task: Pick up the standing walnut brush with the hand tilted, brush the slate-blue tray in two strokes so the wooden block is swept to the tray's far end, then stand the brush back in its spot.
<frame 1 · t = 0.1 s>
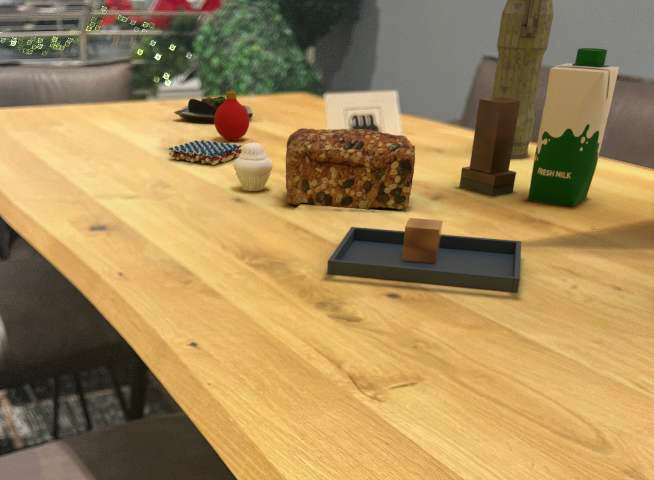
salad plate: (215, 119, 177), on the table
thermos: (503, 155, 147), on the table
muffin: (253, 190, 122), on the table
milk carton: (556, 200, 119), on the table
christmas ornament: (232, 141, 156), on the table
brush: (485, 189, 123), on the table
woven mat: (207, 159, 141), on the table
tray: (426, 268, 91), on the table
bread: (347, 202, 117), on the table
wooden block: (420, 257, 93), point 1 cm above the table, touching tray
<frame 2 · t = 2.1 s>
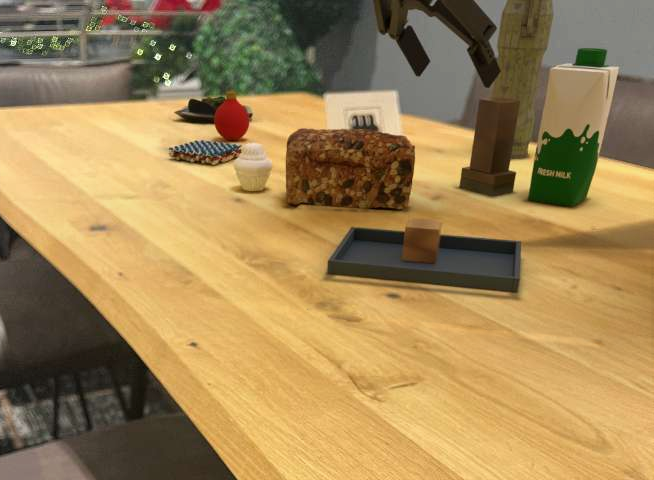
hand: (456, 74, 109), 17 cm above the table, tool tilted 45°, fingers open, 13 cm apart
nothing on the table moved.
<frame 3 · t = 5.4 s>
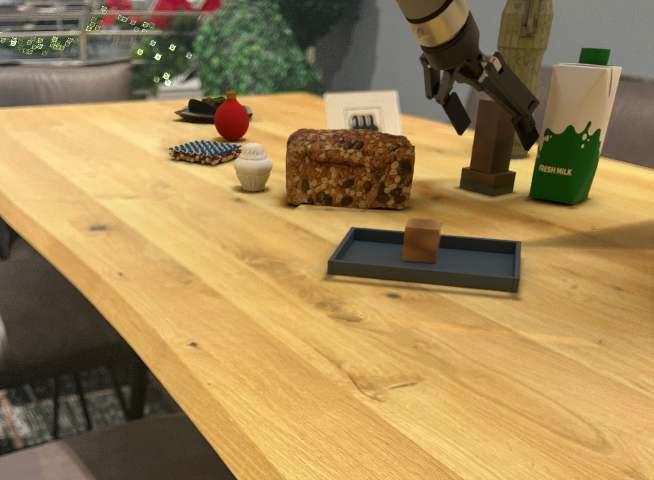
hand: (497, 136, 120), 8 cm above the table, tool tilted 45°, fingers open, 13 cm apart
milk carton: (557, 199, 119), on the table, touching gripper
everything else where it was.
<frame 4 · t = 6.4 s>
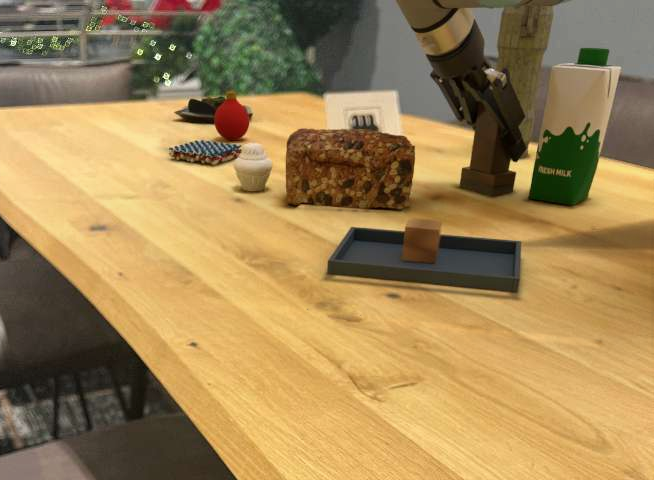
hand: (507, 151, 122), 5 cm above the table, tool tilted 45°, fingers closed on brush, 4 cm apart
milk carton: (557, 199, 119), on the table
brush: (485, 189, 123), on the table, touching gripper
everything else where it was.
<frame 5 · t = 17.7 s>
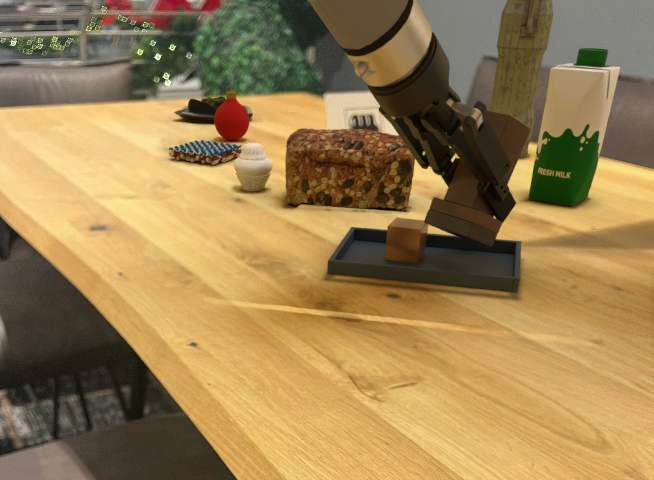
hand: (489, 207, 90), 6 cm above the table, tool tilted 45°, fingers closed on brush, 4 cm apart
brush: (457, 235, 89), point 4 cm above the table, tilted 23°, touching wooden block, gripper
wooden block: (405, 257, 93), point 1 cm above the table, touching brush, tray
everything else where it was.
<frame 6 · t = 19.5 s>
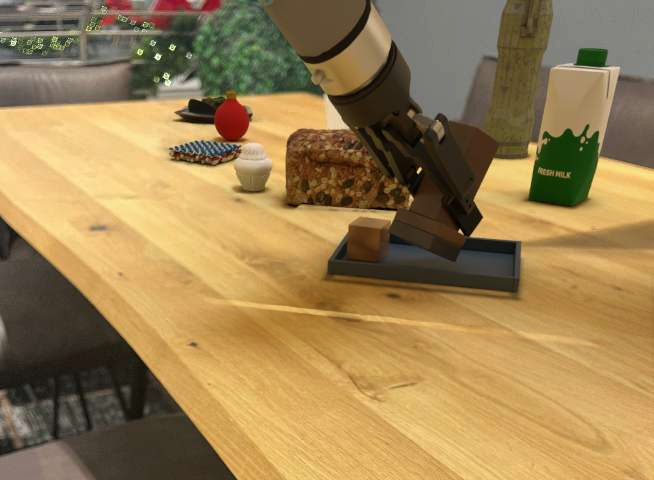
hand: (456, 221, 88), 5 cm above the table, tool tilted 45°, fingers closed on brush, 4 cm apart
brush: (420, 247, 87), point 3 cm above the table, tilted 26°, touching gripper
wooden block: (367, 256, 93), point 1 cm above the table, touching tray
everything else where it was.
when the fingers open (3 cm above the table, at t = 33.4 s): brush drops 1 cm, on the table.
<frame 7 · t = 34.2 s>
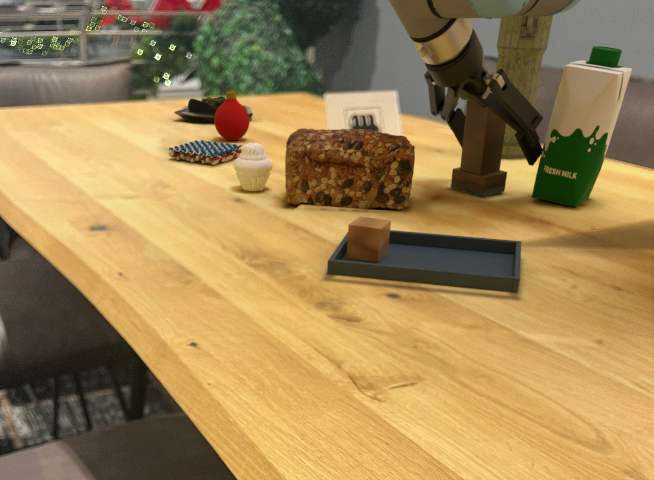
hand: (501, 150, 121), 6 cm above the table, tool tilted 45°, fingers open, 13 cm apart
milk carton: (559, 199, 118), on the table, touching gripper
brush: (477, 189, 123), on the table
everything else where it was.
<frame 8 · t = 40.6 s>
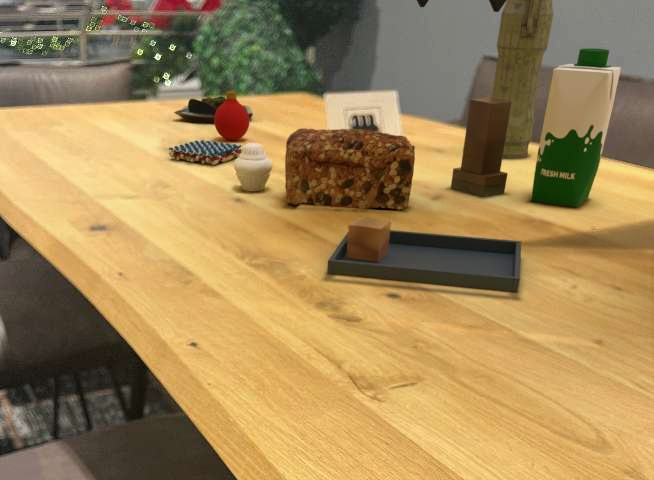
hand: (463, 1, 103), 26 cm above the table, tool tilted 45°, fingers open, 13 cm apart
milk carton: (559, 201, 118), on the table
everything else where it was.
at the end: wooden block inside the target area in the tray (0.6 cm from its centre), point 0.6 cm above the tray's base; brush inside the target area (1.7 cm from its centre), on the table; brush tilted 0° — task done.
